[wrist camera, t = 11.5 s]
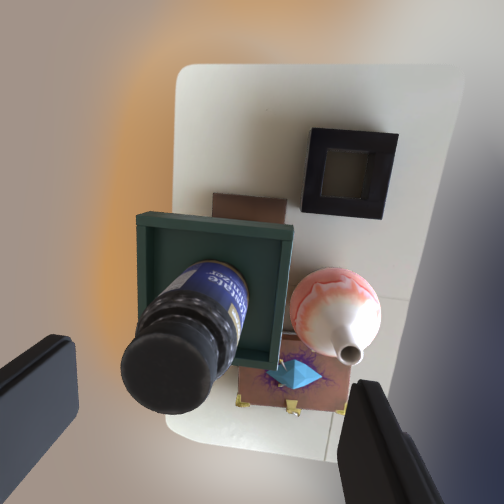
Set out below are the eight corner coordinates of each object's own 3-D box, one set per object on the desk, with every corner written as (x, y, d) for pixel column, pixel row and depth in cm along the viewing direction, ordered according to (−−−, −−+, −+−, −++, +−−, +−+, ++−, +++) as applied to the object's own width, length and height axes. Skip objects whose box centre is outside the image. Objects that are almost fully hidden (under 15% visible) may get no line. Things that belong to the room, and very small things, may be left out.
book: (218, 321, 56) (212, 334, 52) (351, 330, 54) (358, 343, 49) (217, 397, 60) (212, 416, 55) (343, 408, 58) (349, 428, 53)
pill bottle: (265, 299, 25) (253, 392, 14) (210, 337, 26) (162, 446, 16) (218, 241, 24) (169, 295, 13) (164, 283, 25) (80, 362, 15)
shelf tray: (149, 210, 25) (135, 215, 23) (293, 224, 24) (294, 230, 22) (150, 338, 28) (138, 353, 26) (277, 354, 27) (277, 371, 25)
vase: (366, 331, 53) (406, 404, 36) (289, 331, 55) (292, 402, 38) (369, 257, 50) (415, 300, 33) (287, 259, 51) (290, 301, 34)
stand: (214, 192, 50) (149, 210, 25) (286, 199, 49) (293, 224, 24) (211, 261, 53) (150, 338, 28) (279, 268, 52) (277, 354, 27)
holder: (309, 131, 46) (311, 127, 42) (389, 137, 45) (399, 133, 41) (299, 209, 49) (301, 212, 45) (374, 216, 48) (382, 219, 44)
